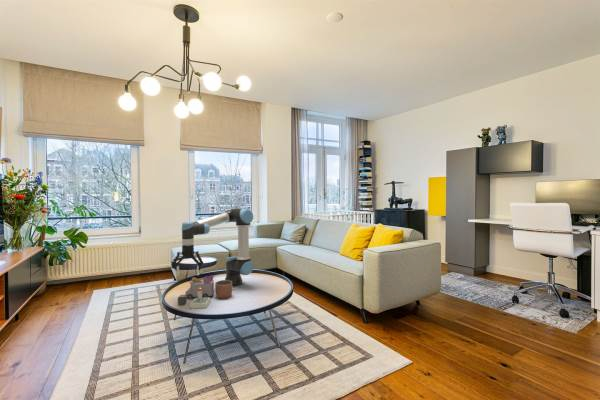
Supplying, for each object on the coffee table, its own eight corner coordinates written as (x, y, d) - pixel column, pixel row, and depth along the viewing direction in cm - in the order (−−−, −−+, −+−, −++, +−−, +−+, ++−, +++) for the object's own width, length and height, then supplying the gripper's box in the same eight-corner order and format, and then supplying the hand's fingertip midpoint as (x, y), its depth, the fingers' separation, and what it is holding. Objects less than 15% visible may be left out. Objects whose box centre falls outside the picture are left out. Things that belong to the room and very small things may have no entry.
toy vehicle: (188, 295, 219) (188, 275, 219) (214, 294, 221) (214, 275, 220) (184, 299, 210) (184, 279, 209) (212, 298, 211) (211, 278, 211)
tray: (210, 302, 204) (210, 297, 204) (206, 308, 194) (206, 303, 194) (195, 303, 203) (194, 297, 203) (190, 309, 193) (190, 303, 193)
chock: (186, 303, 204) (186, 294, 204) (184, 305, 199) (183, 297, 199) (180, 303, 203) (180, 294, 203) (178, 306, 198) (177, 297, 198)
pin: (203, 303, 200) (203, 286, 200) (202, 306, 196) (201, 288, 196) (198, 304, 200) (197, 287, 200) (196, 306, 196) (196, 288, 196)
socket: (208, 299, 209) (208, 296, 209) (207, 302, 204) (206, 299, 204) (200, 300, 209) (200, 296, 209) (198, 302, 204) (198, 299, 204)
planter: (223, 301, 206) (223, 286, 206) (211, 298, 213) (211, 283, 213) (236, 295, 217) (235, 281, 217) (224, 292, 223) (224, 279, 223)
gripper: (207, 243, 204) (207, 273, 204) (171, 244, 201) (171, 274, 202) (205, 245, 196) (205, 276, 197) (167, 245, 194) (167, 277, 194)
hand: (188, 275), depth 199 cm, fingers open, 13 cm apart
